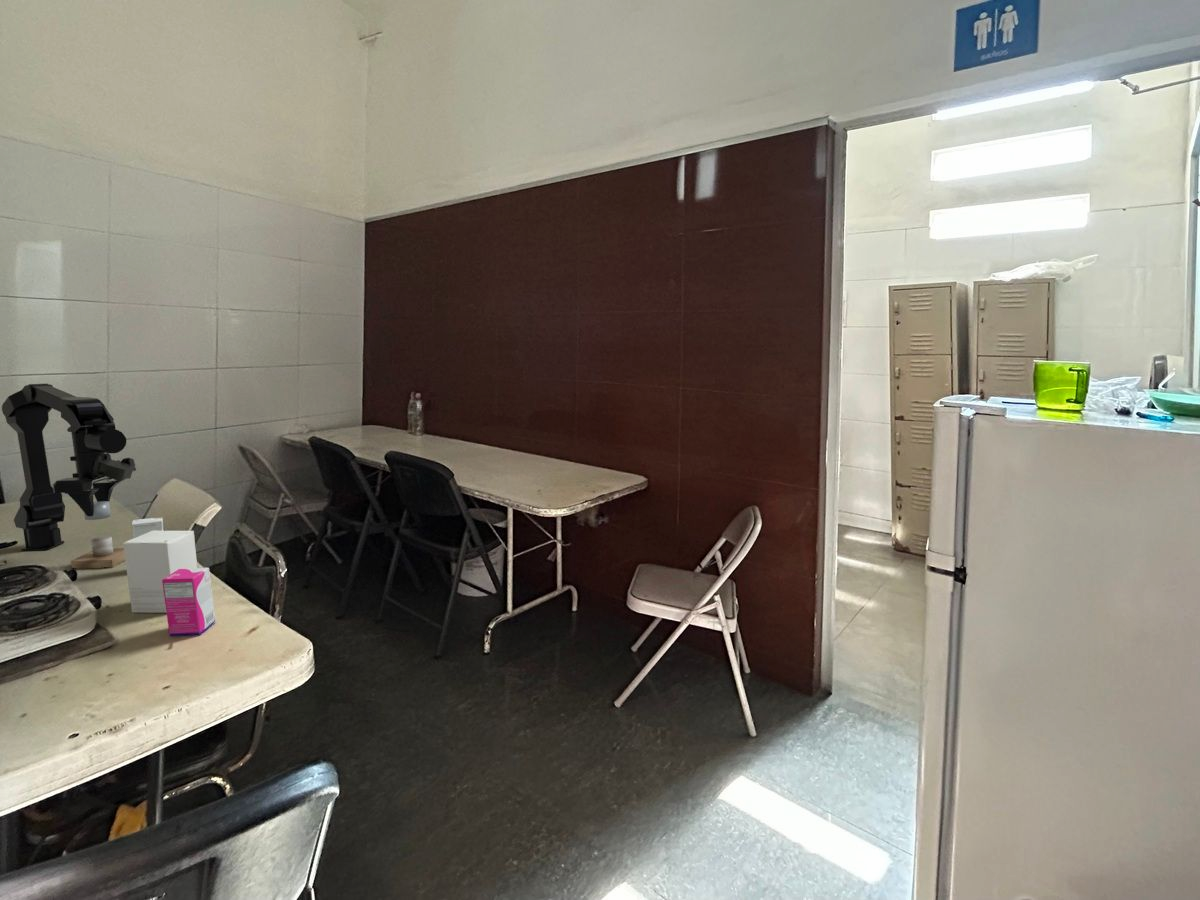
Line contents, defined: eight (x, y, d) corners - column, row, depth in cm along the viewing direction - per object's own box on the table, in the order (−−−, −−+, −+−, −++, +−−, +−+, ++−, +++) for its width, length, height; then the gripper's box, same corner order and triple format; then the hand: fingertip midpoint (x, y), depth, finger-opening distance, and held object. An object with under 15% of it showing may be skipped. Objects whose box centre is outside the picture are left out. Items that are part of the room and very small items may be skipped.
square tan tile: (71, 568, 151) (68, 544, 150) (96, 556, 159) (93, 533, 158) (112, 567, 152) (109, 543, 151) (134, 555, 161) (132, 532, 160)
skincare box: (135, 573, 148) (129, 524, 146) (136, 568, 152) (131, 519, 150) (166, 569, 151) (161, 520, 149) (167, 563, 155) (162, 516, 153)
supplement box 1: (202, 596, 136) (195, 529, 133) (174, 613, 127) (167, 542, 124) (160, 595, 136) (153, 529, 133) (129, 613, 127) (121, 542, 124)
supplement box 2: (185, 623, 123) (179, 567, 121) (216, 622, 123) (211, 567, 121) (167, 636, 117) (161, 578, 115) (200, 636, 117) (194, 578, 115)
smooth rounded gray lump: (80, 520, 151) (78, 506, 151) (93, 515, 156) (91, 501, 156) (102, 519, 152) (100, 505, 151) (115, 514, 157) (113, 500, 156)
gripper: (100, 456, 143) (109, 522, 146) (147, 444, 162) (154, 503, 164) (46, 457, 142) (56, 524, 144) (100, 445, 160) (108, 504, 163)
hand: (97, 513), depth 154 cm, fingers closed on smooth rounded gray lump, 5 cm apart
